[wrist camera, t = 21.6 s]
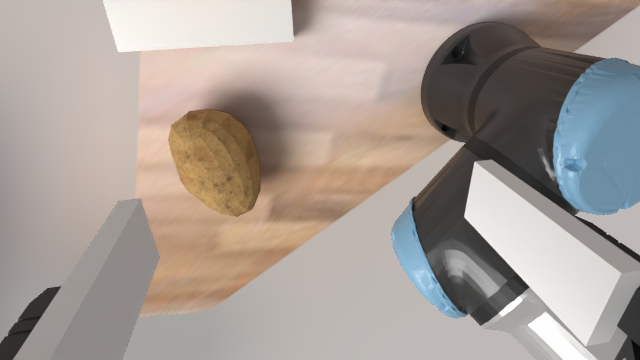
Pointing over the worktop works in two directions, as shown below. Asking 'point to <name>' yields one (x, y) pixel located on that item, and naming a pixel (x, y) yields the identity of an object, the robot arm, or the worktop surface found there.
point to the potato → (216, 160)
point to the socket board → (197, 23)
